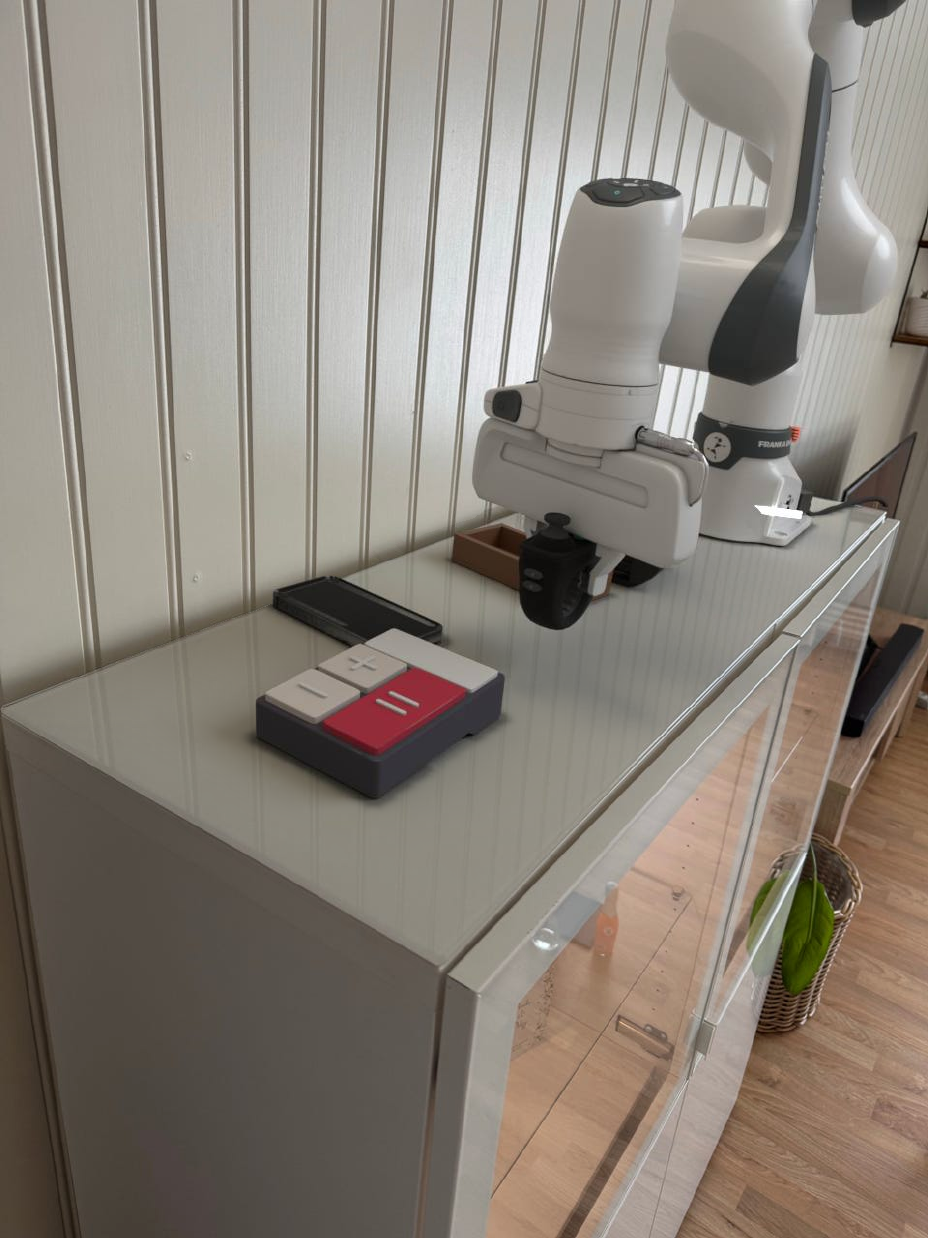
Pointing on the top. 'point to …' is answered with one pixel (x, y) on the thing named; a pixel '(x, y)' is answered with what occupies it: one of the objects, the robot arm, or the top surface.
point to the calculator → (380, 710)
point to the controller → (554, 574)
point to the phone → (351, 611)
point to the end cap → (633, 571)
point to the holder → (496, 553)
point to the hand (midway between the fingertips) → (565, 581)
